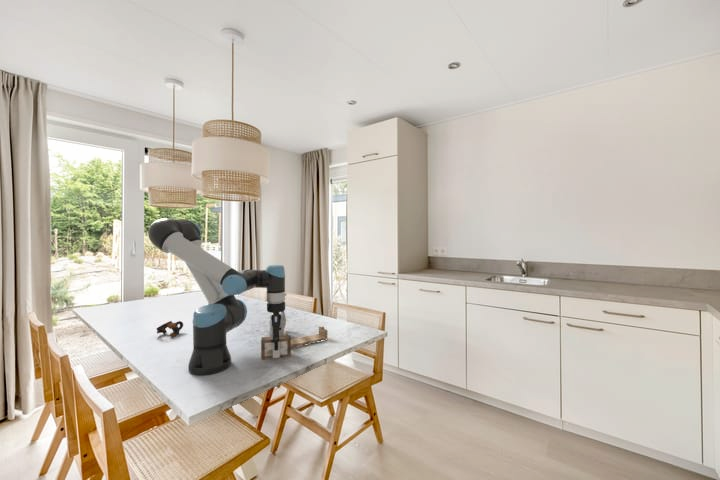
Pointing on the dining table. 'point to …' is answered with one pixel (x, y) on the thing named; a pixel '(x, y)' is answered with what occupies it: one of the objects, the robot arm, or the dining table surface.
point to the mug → (282, 324)
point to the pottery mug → (172, 326)
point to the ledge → (309, 338)
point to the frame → (268, 346)
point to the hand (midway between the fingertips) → (276, 351)
